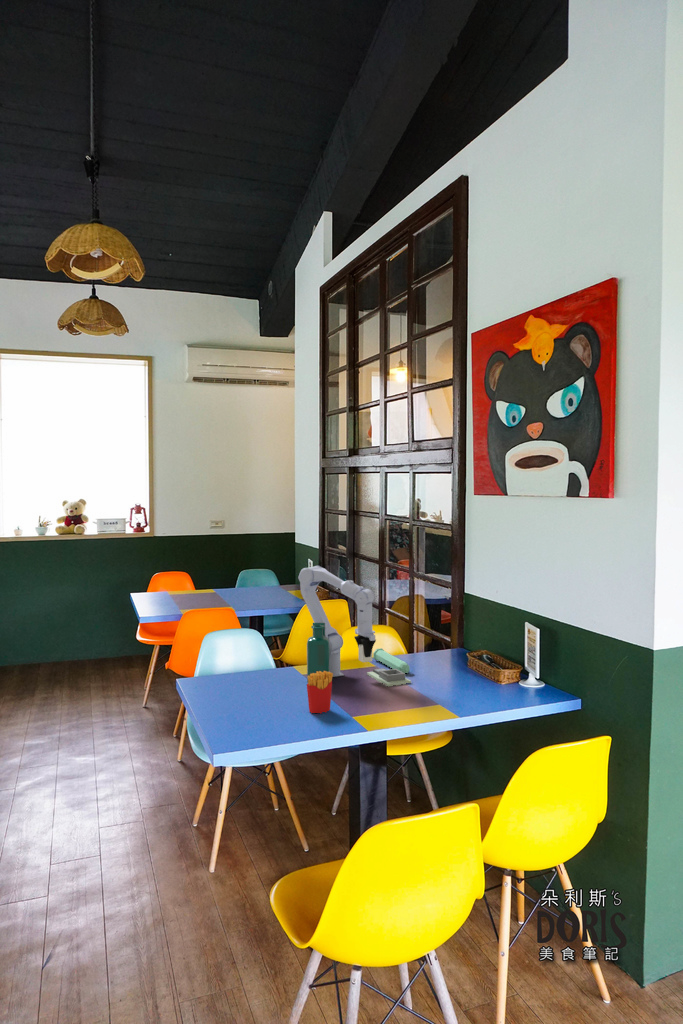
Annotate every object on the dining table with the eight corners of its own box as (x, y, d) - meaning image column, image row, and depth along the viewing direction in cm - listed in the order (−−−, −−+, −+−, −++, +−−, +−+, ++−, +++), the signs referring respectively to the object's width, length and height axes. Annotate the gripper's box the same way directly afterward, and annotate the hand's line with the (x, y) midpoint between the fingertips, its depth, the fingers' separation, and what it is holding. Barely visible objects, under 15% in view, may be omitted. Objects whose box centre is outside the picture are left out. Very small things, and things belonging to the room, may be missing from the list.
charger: (362, 662, 263) (362, 646, 263) (358, 659, 267) (358, 644, 267) (372, 661, 265) (372, 645, 265) (368, 658, 268) (368, 643, 268)
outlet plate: (387, 686, 257) (387, 677, 256) (367, 674, 273) (367, 666, 273) (411, 683, 260) (410, 674, 260) (389, 671, 277) (389, 663, 277)
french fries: (311, 715, 225) (311, 676, 224) (305, 711, 228) (304, 673, 228) (335, 710, 230) (335, 671, 229) (328, 706, 233) (328, 669, 233)
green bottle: (329, 685, 259) (328, 627, 258) (307, 685, 259) (306, 627, 259) (330, 678, 269) (329, 622, 268) (308, 678, 269) (308, 622, 268)
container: (409, 659, 273) (382, 645, 296) (397, 666, 271) (370, 652, 294) (414, 672, 274) (387, 657, 297) (402, 679, 272) (375, 664, 295)
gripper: (382, 623, 260) (382, 658, 261) (366, 616, 273) (366, 650, 274) (365, 624, 257) (365, 660, 258) (350, 618, 271) (350, 652, 271)
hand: (365, 655), depth 266 cm, fingers closed on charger, 4 cm apart
